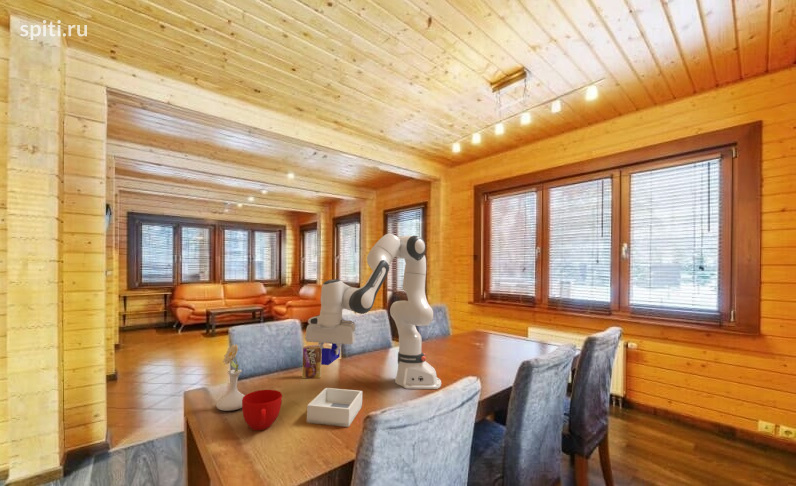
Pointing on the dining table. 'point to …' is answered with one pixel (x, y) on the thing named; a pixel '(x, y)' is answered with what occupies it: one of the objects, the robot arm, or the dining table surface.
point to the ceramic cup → (261, 408)
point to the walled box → (334, 407)
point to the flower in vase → (233, 396)
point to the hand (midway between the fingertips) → (329, 354)
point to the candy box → (311, 361)
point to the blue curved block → (329, 355)
